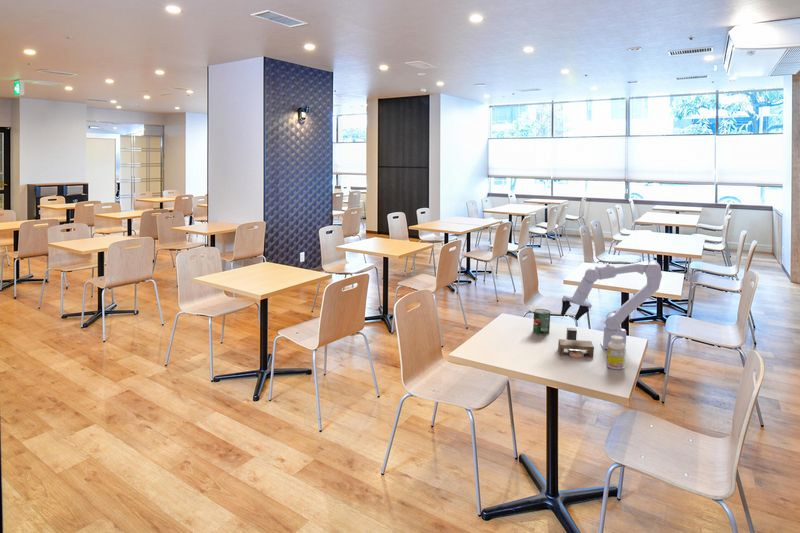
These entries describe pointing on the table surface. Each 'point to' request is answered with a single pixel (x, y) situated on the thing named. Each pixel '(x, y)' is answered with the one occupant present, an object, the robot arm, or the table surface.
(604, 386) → the table surface
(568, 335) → the grey square prism
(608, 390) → the table surface
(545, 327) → the canned tomato
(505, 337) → the table surface
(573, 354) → the coaster
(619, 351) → the supplement bottle
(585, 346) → the bench
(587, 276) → the robot arm
